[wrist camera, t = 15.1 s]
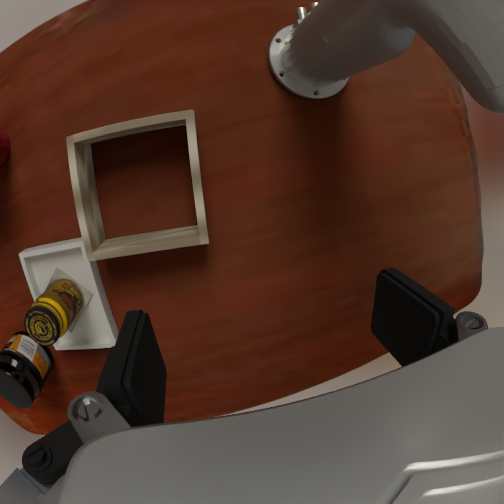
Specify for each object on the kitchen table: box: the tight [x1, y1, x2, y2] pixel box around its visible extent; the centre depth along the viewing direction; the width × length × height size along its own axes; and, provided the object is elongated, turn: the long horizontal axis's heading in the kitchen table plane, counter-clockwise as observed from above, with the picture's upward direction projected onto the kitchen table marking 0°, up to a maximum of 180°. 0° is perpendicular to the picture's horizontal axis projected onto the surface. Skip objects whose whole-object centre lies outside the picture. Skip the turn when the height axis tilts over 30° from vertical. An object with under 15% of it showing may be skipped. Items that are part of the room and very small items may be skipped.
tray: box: [19, 237, 119, 350], centre depth 38 cm, size 18×13×2 cm
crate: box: [66, 110, 209, 262], centre depth 33 cm, size 16×16×6 cm
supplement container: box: [0, 331, 53, 409], centre depth 35 cm, size 10×10×12 cm
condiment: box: [24, 267, 93, 346], centre depth 32 cm, size 7×8×12 cm
